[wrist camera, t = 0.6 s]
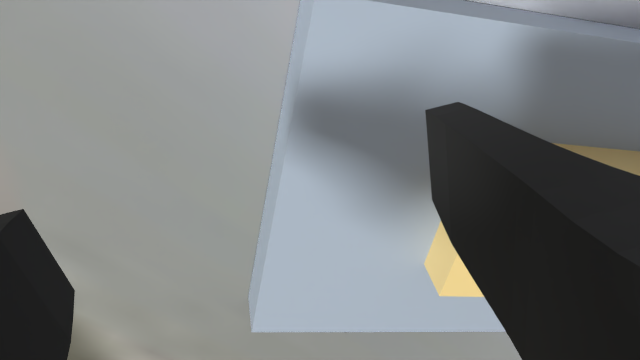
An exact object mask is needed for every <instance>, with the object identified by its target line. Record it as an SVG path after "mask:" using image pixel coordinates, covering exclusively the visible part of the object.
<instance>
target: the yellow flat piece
mask: <svg viewBox="0 0 640 360" xmlns="http://www.w3.org/2000/svg"><path fill="white" fill-rule="evenodd" d="M553 144H555V145H557V146H560V147H562V148H565V149H567V150H570V151H572V152H575V153H577V154H580V155H582V156H585V157H588V158H590V159H593V160H596V161H598V162H601V163H604V164H606V165H609V166H612V167H615V168H618V169H621V170H624V171H627V172H630V173H633V174H636V175H639V176H640V151H630V150H620V149H609V148H599V147H589V146H578V145H568V144H558V143H553ZM424 265H425V267H426V270H427V272H428V274H429V276H430V278H431V280H432V282H433V284H434V286H435V288H436V290H437V292H438V294H439V296H456V297H484V296H483V294H482V292H481V291H480V289H479V288H478V286H477V284H476V283H475V281H474V280H473V278H472V276H471V275H470V273H469V272H468V270H467V268H466V267H465V265H464V263H463V262H462V260H461V259H460V257H459V255H458V254H457V252H456V250H455V249H454V247H453V245H452V244H451V241H450V239H449V237H448V235H447V233H446V231H445V228H444V226H443V224H442V222H441V221H440V224H439V227H438V229H437V232H436V234H435V237H434V239H433V242H432V245H431V247H430V250H429V252H428V255H427V258H426V260H425V263H424Z"/></svg>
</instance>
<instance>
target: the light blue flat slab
mask: <svg viewBox="0 0 640 360" xmlns="http://www.w3.org/2000/svg"><path fill="white" fill-rule="evenodd" d="M455 102H460V103H463V104H466V105H468V106H471V107H473V108H475V109H477V110H480V111H482V112H484V113H486V114H488V115H491V116H493V117H495V118H497V119H499V120H501V121H503V122H506V123H508V124H510V125H512V126H514V127H516V128H519V129H521V130H523V131H525V132H527V133H530V134H532V135H534V136H536V137H539V138H541V139H543V140H546V141H548V142H550V143H558V144H568V145H578V146H589V147H599V148H609V149H620V150H630V151H640V29H636V28H630V27H623V26H617V25H611V24H605V23H599V22H593V21H587V20H581V19H575V18H569V17H562V16H556V15H550V14H544V13H538V12H532V11H526V10H520V9H514V8H508V7H501V6H495V5H489V4H483V3H477V2H471V1H465V0H300V6H299V12H298V17H297V23H296V29H295V35H294V40H293V46H292V52H291V57H290V63H289V69H288V74H287V80H286V86H285V91H284V97H283V103H282V108H281V114H280V120H279V125H278V131H277V137H276V143H275V148H274V154H273V160H272V165H271V171H270V177H269V182H268V188H267V194H266V199H265V205H264V211H263V216H262V222H261V228H260V233H259V239H258V245H257V251H256V256H255V262H254V268H253V273H252V279H251V285H250V290H249V296H248V299H249V310H250V320H251V330H252V332H506V331H505V329H504V328H503V326H502V324H501V323H500V321H499V320H498V318H497V316H496V315H495V313H494V312H493V310H492V308H491V307H490V305H489V304H488V302H487V300H486V299H485V297H456V296H439V294H438V292H437V290H436V288H435V286H434V284H433V282H432V280H431V278H430V276H429V274H428V272H427V270H426V267H425V265H424V263H425V260H426V258H427V255H428V252H429V250H430V247H431V245H432V242H433V239H434V237H435V234H436V232H437V229H438V227H439V224H440V221H441V219H440V217H439V215H438V213H437V210H436V208H435V206H434V203H433V201H432V193H431V180H430V167H429V153H428V140H427V126H426V113H425V110H427V109H431V108H435V107H439V106H443V105H447V104H451V103H455Z"/></svg>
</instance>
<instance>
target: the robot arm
mask: <svg viewBox="0 0 640 360" xmlns="http://www.w3.org/2000/svg"><path fill="white" fill-rule="evenodd" d="M425 113H426V126H427V140H428V153H429V167H430V180H431V193H432V201H433V203H434V206H435V208H436V210H437V213H438V215H439V217H440V219H441V222H442V224H443V226H444V228H445V231H446V233H447V235H448V237H449V239H450V241H451V244H452V245H453V247H454V249H455V250H456V252H457V254H458V255H459V257H460V259H461V260H462V262H463V263H464V265H465V267H466V268H467V270H468V272H469V273H470V275H471V276H472V278H473V280H474V281H475V283H476V284H477V286H478V288H479V289H480V291H481V292H482V294H483V296H484V297H485V299H486V300H487V302H488V304H489V305H490V307H491V308H492V310H493V312H494V313H495V315H496V316H497V318H498V320H499V321H500V323H501V324H502V326H503V328H504V329H505V331H506V332H507V334H508V336H509V337H510V339H511V341H512V342H513V344H514V346H515V348H516V349H517V351H518V353H519V355H520V356H521V358H522V360H640V176H639V175H636V174H633V173H630V172H627V171H624V170H621V169H618V168H615V167H612V166H609V165H606V164H604V163H601V162H598V161H596V160H593V159H590V158H588V157H585V156H582V155H580V154H577V153H575V152H572V151H570V150H567V149H565V148H562V147H560V146H557V145H555V144H553V143H550V142H548V141H546V140H543V139H541V138H539V137H536V136H534V135H532V134H530V133H527V132H525V131H523V130H521V129H519V128H516V127H514V126H512V125H510V124H508V123H506V122H503V121H501V120H499V119H497V118H495V117H493V116H491V115H488V114H486V113H484V112H482V111H480V110H477V109H475V108H473V107H471V106H468V105H466V104H463V103H460V102H455V103H451V104H447V105H443V106H439V107H435V108H431V109H427V110H425ZM74 292H75V290H74V289H73V287H72V286H71V284H70V282H69V281H68V279H67V278H66V276H65V274H64V273H63V271H62V270H61V268H60V266H59V265H58V263H57V262H56V260H55V259H54V257H53V255H52V254H51V252H50V251H49V249H48V247H47V246H46V244H45V243H44V241H43V239H42V238H41V236H40V235H39V233H38V232H37V230H36V228H35V227H34V225H33V224H32V222H31V220H30V219H29V217H28V216H27V214H26V212H25V211H24V209H22V210H17V211H13V212H9V213H5V214H2V215H0V360H67V357H68V352H69V347H70V343H71V334H72V323H73V309H74Z"/></svg>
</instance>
